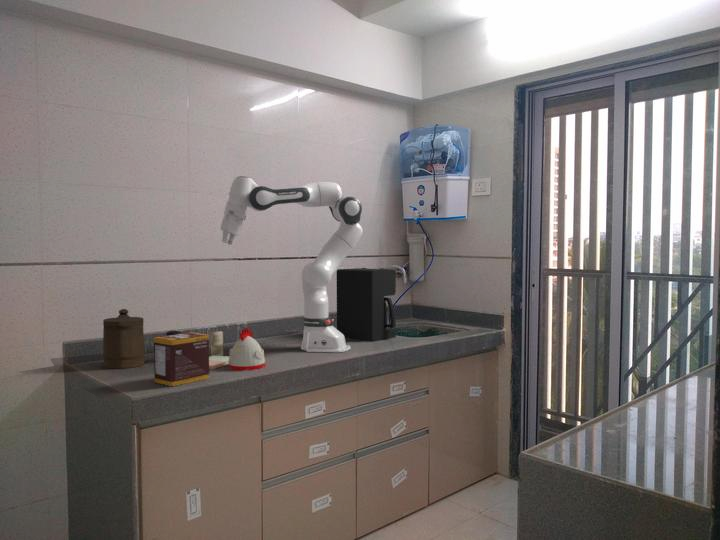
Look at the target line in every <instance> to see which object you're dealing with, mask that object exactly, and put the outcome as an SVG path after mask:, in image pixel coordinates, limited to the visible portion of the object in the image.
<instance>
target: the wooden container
mask: <svg viewBox="0 0 720 540" xmlns="http://www.w3.org/2000/svg"><path fill="white" fill-rule="evenodd" d="M144 322H145V321H144V318H143V317H141V316H138V317H137V316H130V315H129V310H128V309H126V308H122V309H120V310H118V316H117V317H111V318H110V317H109V318H105V319H103V323H102V325H103V331H102V332H103V333H102V334H103V337H102V339H103V340H102V342H103V345H102V346H103V347H102V348H103V349H102V350H103V352H102V355H103V368H107V369H113V370H114V369H116V370H117V369H130V368H135V367H141V366H143V365H145V336H144Z"/></svg>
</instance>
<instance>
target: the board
mask: <svg viewBox="0 0 720 540" xmlns="http://www.w3.org/2000/svg"><path fill="white" fill-rule="evenodd" d="M229 357H230V356H226V355H225V356H224V355H223V356H214V355H213V356H211V355H209V370H215V369H217V368H221V367H223V366H226V365H228V362H229Z"/></svg>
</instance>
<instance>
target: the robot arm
mask: <svg viewBox="0 0 720 540" xmlns="http://www.w3.org/2000/svg"><path fill="white" fill-rule="evenodd" d="M284 204H286V205H287V204H298V205H300V206H302V207H305V208H319V207H328V208H329V210H330V212H331V215H332V217H333V219H334V220H335V221H337V222H339V227H338V229H337V230H336V231H335V232H334V233H333V234H332V235H331V237H330V238H329V239H328V241H327V242H326V243H325V244H324V245H323V246H322V249H321V251H320V252H319V253H318V255H317V256H316V258H315V259H314V261H313V262H308V263H306V264H305V265H304V267H303V268H302V270H301V283H302V284H301V285H302V293H303V318H302V327H303V336H302V340H301V341H302V342H301V345H300V346H301V347H300V349H301V350H302V351H305V352H307V353H344V352H347V351H349V350H351V345H350V344H347V343H346V338H345V337H344V335H343V334H342V333H341V332H340V331H338V330H337V327H335V326H334V325H333V322H334V318H331V317H330V316H329V315H330V313H329V296H328V292H327V285H328V284H330V282H331V281H332V279H333V277H334V276H335V274H337V270H338V269H340V266H341V265H342V264H343V262H344V261H345V259H346V258H347V257H348V256H349V254H350V253H351V252H352V251H353V249H354V248H355V246H356V245H357V244H358V242H359V241H360V239H361V237H362V235H363V232H364V231H363V227H362V225H360V221H361V215H362V211H363V206H362V203H361V202H360V200H359V199H358V198H357V197H354V196H347V197H345V196H344V195H343V192H342V188H341V186H340V185H339V183H337V182H333V181H315V182H308V183H303V184H301V185H299V186H295V187H291V188H278V189H275V188H274V189H273V188H270V187H267V186H264V185H262V186H261V185H260V186H259V185H258V184H257V183H256V182H255V181H254V179H253V178H251V177H250V176H245V175H244V176H237V177H235V178H234V179H233V181H232V183H231V186H230V189H229V192H228V200H227V201H226V204H225V207H224V212H223V214H224V216H223V218H222V221H221V224H220V230H221V231H222V240H221V242H222V243H225V244H228V245H231V246H232V245H233V243H234V242H233V241H234V239H235V238H236V237H239V235H240V233H241V230H242V228H243V225H244V221H246V218H247V216H246V215H247V213H246V212H247V208H250V209H252V210H253V211H255V212H264V211H266V210H268V209H270V208H272V207H273V206H276V205H284Z"/></svg>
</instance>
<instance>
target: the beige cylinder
mask: <svg viewBox="0 0 720 540" xmlns="http://www.w3.org/2000/svg"><path fill="white" fill-rule="evenodd" d="M213 355H214V356H224V332H223V331H221V330H218V331H217V330H216V331H210V356H213Z"/></svg>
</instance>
